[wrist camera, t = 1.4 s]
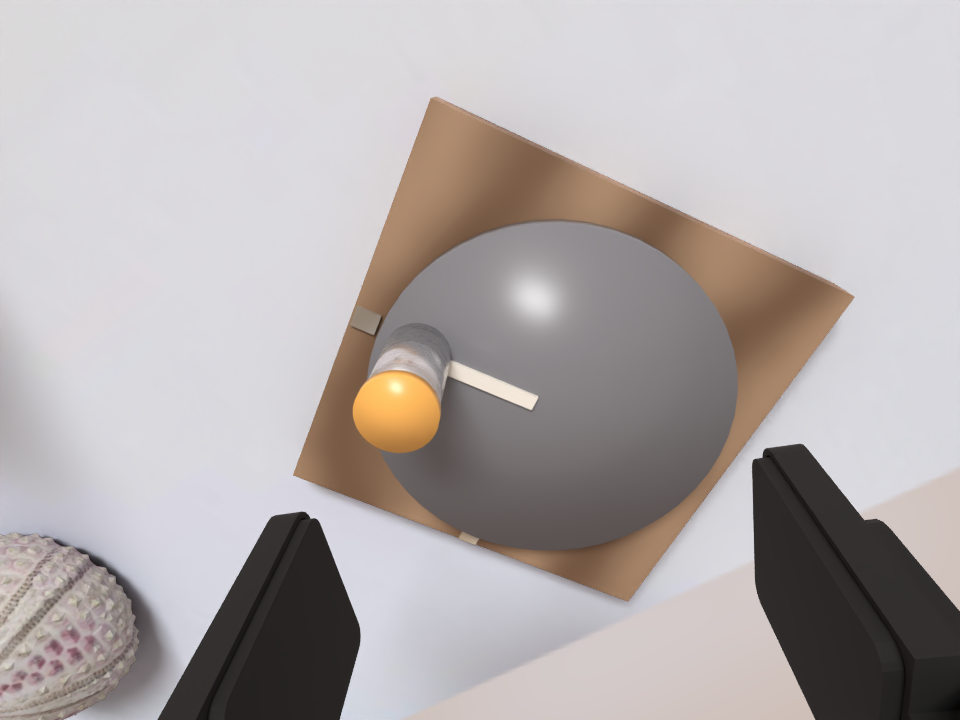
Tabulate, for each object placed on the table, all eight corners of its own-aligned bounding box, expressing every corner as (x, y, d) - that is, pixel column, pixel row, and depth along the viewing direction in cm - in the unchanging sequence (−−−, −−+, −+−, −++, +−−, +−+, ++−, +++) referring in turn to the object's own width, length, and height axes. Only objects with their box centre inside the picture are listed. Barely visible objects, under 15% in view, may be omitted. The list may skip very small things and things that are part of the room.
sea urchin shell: (-75, 603, 41) (-203, 716, 34) (-9, 475, 36) (-142, 575, 29) (106, 694, 44) (25, 816, 37) (190, 587, 39) (116, 703, 32)
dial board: (833, 283, 28) (857, 298, 26) (622, 575, 36) (628, 604, 34) (436, 96, 26) (430, 98, 24) (304, 454, 34) (291, 477, 32)
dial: (807, 315, 27) (891, 382, 21) (618, 578, 34) (640, 686, 28) (450, 151, 25) (429, 173, 19) (326, 467, 32) (282, 558, 26)
